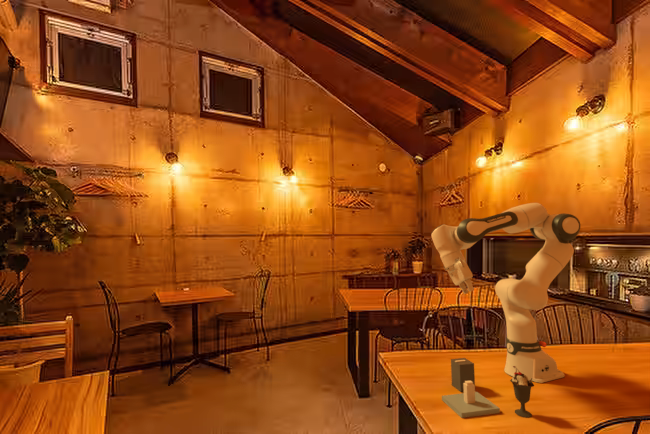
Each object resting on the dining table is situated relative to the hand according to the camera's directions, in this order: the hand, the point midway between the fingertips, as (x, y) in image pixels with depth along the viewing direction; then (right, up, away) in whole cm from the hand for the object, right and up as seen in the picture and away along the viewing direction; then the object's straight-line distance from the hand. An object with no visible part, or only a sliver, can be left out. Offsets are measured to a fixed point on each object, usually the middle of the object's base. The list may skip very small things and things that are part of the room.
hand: (469, 292), depth 137 cm
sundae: (+6, -34, -27) cm, 44 cm away
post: (-9, -34, -22) cm, 42 cm away
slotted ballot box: (-6, -35, -8) cm, 36 cm away
